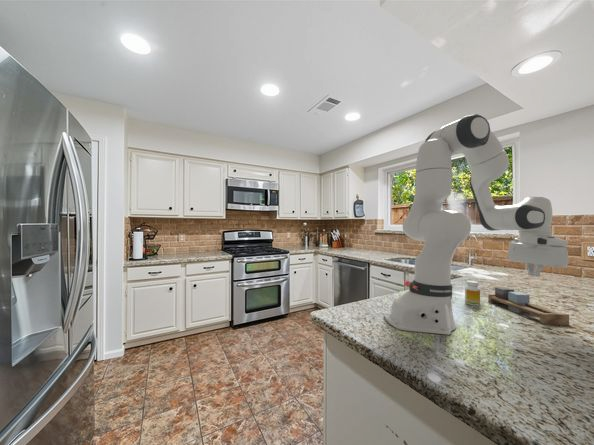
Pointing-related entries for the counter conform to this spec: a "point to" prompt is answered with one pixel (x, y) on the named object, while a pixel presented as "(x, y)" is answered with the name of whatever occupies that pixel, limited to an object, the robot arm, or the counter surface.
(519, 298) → the block
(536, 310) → the beam
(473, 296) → the supplement bottle
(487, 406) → the counter surface
